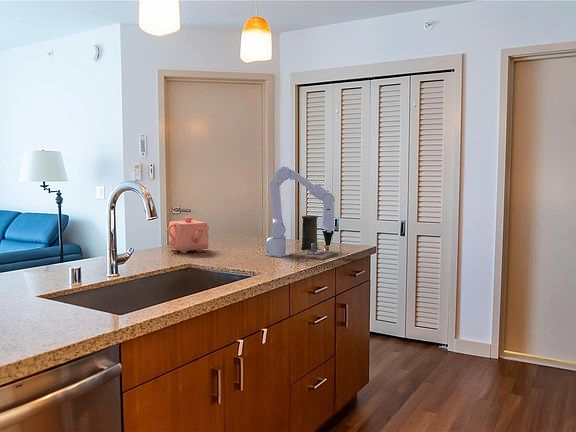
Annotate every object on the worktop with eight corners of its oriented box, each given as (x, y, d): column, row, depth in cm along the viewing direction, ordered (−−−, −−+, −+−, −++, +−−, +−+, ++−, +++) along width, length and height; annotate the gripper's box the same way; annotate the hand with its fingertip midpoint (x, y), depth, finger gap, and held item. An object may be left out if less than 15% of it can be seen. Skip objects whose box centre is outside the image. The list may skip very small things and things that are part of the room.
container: (320, 249, 278) (321, 216, 276) (312, 251, 270) (312, 217, 269) (306, 247, 283) (306, 215, 281) (297, 249, 275) (298, 216, 274)
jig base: (288, 256, 253) (288, 244, 252) (306, 252, 268) (307, 240, 268) (321, 260, 244) (321, 247, 243) (338, 255, 259) (338, 242, 258)
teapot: (222, 253, 263) (221, 218, 261) (180, 257, 250) (179, 220, 248) (201, 247, 283) (200, 214, 282) (161, 250, 270) (161, 216, 269)
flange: (309, 254, 251) (309, 244, 250) (303, 252, 258) (303, 241, 258) (332, 253, 255) (332, 243, 254) (325, 250, 262) (325, 241, 262)
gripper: (337, 219, 245) (337, 247, 247) (334, 216, 260) (334, 243, 261) (323, 219, 245) (322, 247, 246) (320, 216, 260) (320, 243, 261)
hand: (327, 245), depth 254 cm, fingers closed
